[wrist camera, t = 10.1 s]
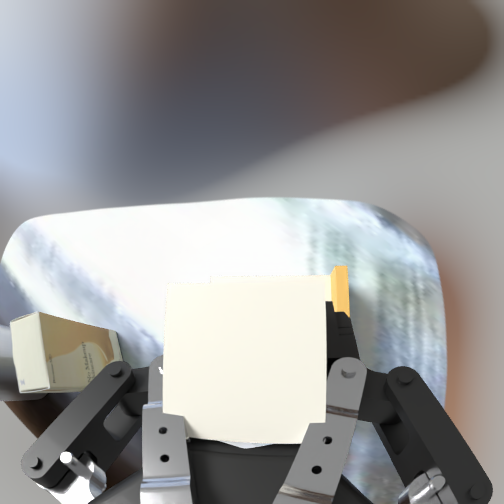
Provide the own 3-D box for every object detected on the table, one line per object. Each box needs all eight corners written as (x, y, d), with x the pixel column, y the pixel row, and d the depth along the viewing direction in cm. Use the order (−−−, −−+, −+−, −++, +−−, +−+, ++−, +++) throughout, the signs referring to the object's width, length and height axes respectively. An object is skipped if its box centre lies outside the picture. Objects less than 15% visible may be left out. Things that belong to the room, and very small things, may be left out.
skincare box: (130, 385, 27) (51, 393, 16) (99, 390, 27) (19, 397, 16) (116, 327, 30) (37, 308, 18) (86, 335, 30) (7, 320, 18)
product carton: (234, 390, 17) (163, 432, 7) (235, 321, 19) (167, 283, 8) (309, 390, 17) (333, 441, 6) (309, 321, 18) (333, 280, 8)
